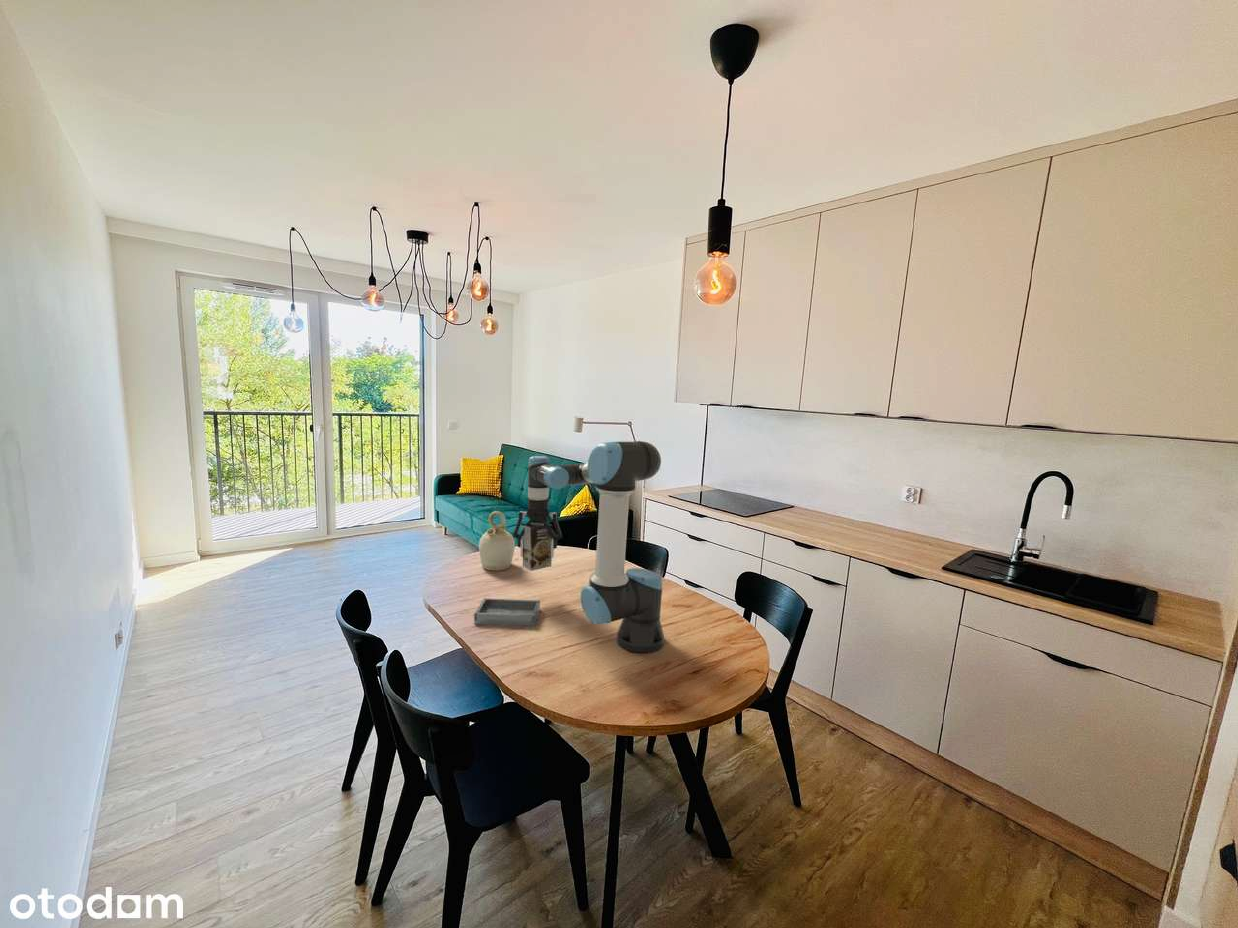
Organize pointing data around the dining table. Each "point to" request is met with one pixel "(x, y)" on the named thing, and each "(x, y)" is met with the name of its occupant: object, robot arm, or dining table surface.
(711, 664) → the dining table surface
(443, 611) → the dining table surface
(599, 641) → the dining table surface
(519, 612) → the grey shallow tray
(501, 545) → the jug
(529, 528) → the coffee box
